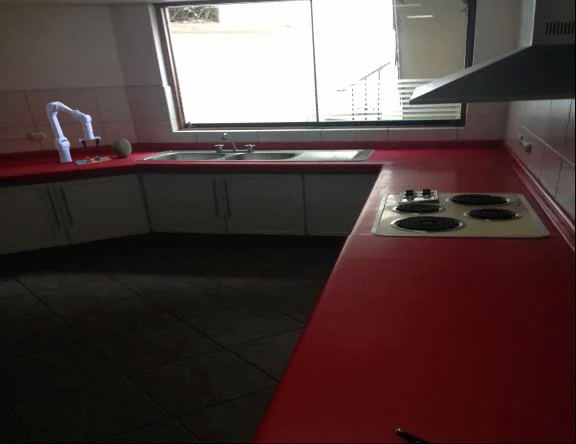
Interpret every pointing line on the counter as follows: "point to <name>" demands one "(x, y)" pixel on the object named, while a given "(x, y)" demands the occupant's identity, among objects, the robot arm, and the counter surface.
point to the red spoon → (89, 160)
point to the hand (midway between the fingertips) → (92, 150)
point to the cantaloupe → (121, 148)
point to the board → (93, 160)
